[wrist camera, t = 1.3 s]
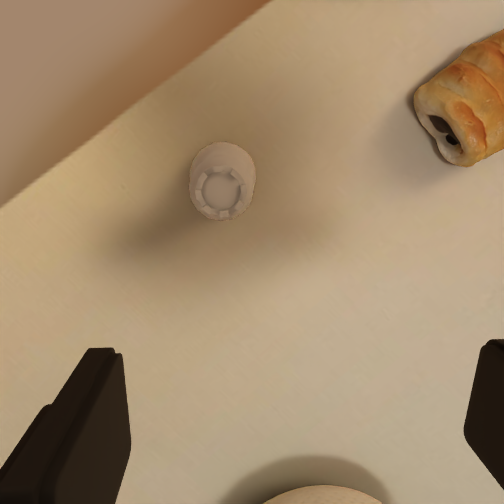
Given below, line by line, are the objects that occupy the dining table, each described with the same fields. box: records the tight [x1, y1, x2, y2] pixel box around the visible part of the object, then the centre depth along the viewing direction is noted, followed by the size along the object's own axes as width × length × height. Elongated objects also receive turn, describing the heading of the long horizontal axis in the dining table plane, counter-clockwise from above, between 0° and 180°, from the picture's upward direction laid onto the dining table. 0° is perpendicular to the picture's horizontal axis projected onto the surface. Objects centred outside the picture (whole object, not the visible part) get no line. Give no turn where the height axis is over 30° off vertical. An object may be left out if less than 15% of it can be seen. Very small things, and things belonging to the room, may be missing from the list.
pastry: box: [414, 29, 504, 167], centre depth 24 cm, size 9×7×4 cm
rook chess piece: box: [189, 141, 256, 221], centre depth 22 cm, size 4×4×8 cm
